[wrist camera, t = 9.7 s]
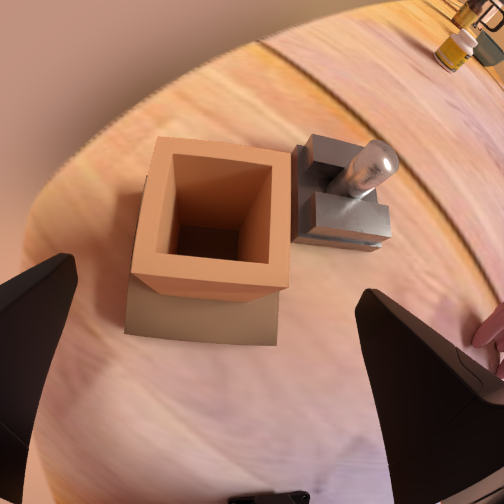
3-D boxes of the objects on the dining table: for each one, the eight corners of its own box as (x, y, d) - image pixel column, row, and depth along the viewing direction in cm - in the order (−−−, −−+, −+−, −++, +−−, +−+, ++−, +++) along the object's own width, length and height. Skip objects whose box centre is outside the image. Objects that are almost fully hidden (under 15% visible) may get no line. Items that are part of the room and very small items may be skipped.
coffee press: (461, 17, 63) (492, -18, 35) (454, 7, 68) (482, -25, 39) (488, 41, 65) (519, 9, 36) (480, 29, 69) (508, -1, 41)
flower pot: (487, 65, 48) (503, 50, 40) (489, 74, 46) (507, 58, 37) (467, 45, 48) (482, 29, 39) (468, 52, 45) (484, 34, 37)
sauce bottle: (452, 19, 54) (478, -11, 35) (465, 31, 54) (492, 2, 35) (448, 20, 52) (476, -13, 33) (462, 32, 52) (491, 1, 33)
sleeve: (245, 302, 17) (288, 287, 9) (160, 294, 16) (130, 272, 8) (250, 221, 18) (290, 153, 10) (170, 213, 17) (157, 136, 10)
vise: (371, 251, 22) (434, 223, 15) (291, 242, 21) (337, 203, 14) (363, 170, 24) (412, 125, 17) (291, 154, 23) (326, 95, 16)
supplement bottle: (451, 77, 35) (480, 48, 26) (430, 56, 36) (457, 26, 26) (455, 70, 37) (481, 44, 28) (435, 52, 37) (460, 24, 28)
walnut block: (266, 342, 19) (276, 345, 17) (133, 332, 17) (124, 333, 15) (272, 204, 21) (281, 190, 19) (151, 191, 20) (146, 175, 17)
